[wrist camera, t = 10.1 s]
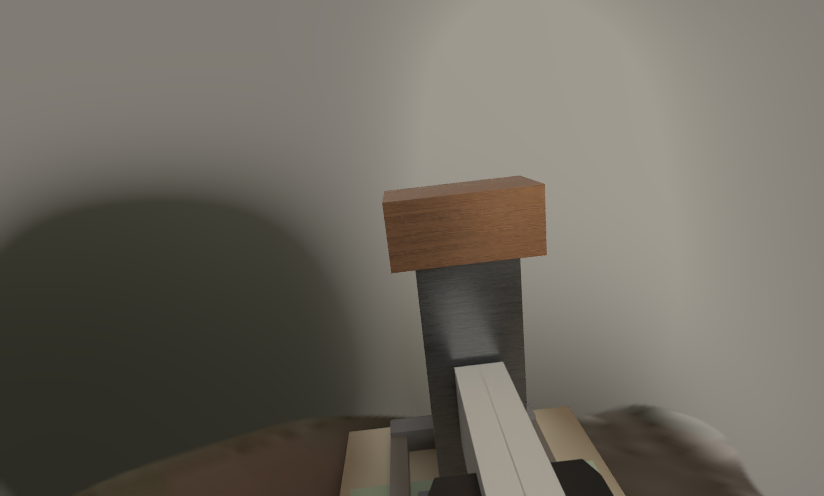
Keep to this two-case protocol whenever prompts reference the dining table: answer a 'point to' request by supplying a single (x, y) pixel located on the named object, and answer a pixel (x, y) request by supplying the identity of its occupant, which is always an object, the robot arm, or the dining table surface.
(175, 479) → the dining table surface
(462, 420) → the robot arm
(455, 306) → the fader lever
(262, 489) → the dining table surface
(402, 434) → the fader console
